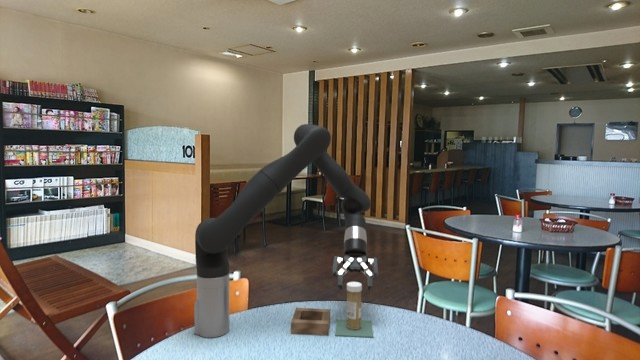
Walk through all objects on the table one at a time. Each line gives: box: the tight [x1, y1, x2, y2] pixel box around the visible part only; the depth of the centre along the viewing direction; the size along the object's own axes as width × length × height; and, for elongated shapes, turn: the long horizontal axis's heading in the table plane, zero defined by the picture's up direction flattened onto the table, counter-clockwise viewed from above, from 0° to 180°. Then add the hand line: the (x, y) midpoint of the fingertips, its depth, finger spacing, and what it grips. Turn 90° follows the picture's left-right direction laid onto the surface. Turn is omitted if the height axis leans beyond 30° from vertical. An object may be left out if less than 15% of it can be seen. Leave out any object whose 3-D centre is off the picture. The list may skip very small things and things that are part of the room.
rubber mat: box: [334, 318, 374, 339], centre depth 119 cm, size 11×11×1 cm
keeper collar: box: [290, 307, 331, 337], centre depth 119 cm, size 11×11×4 cm
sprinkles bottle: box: [346, 281, 363, 330], centre depth 118 cm, size 5×5×14 cm
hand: (354, 288), depth 120 cm, fingers open, 8 cm apart
